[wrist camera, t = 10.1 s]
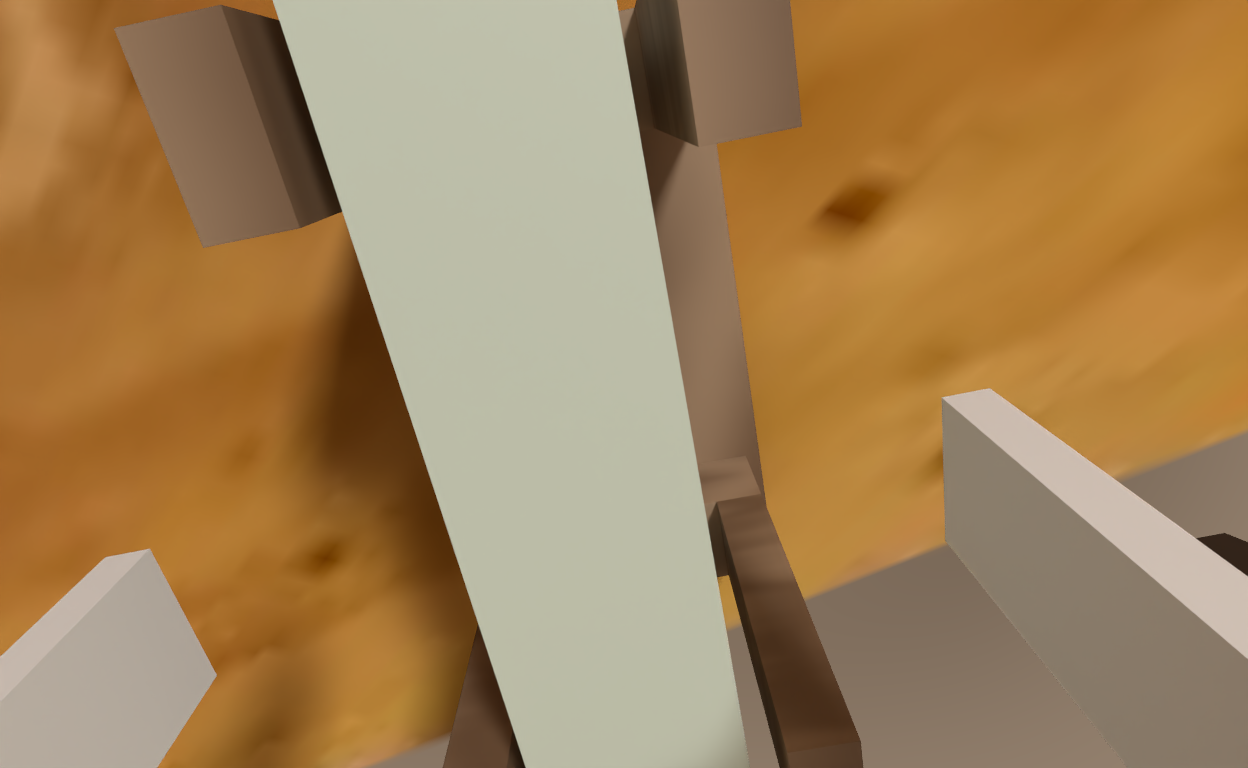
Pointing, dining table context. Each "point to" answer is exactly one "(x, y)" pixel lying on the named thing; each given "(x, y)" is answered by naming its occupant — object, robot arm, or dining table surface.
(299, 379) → the dining table surface
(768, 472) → the dining table surface
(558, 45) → the cream rectangular block
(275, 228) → the u-shaped post stand
